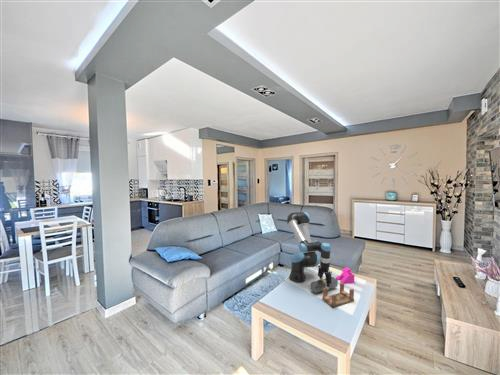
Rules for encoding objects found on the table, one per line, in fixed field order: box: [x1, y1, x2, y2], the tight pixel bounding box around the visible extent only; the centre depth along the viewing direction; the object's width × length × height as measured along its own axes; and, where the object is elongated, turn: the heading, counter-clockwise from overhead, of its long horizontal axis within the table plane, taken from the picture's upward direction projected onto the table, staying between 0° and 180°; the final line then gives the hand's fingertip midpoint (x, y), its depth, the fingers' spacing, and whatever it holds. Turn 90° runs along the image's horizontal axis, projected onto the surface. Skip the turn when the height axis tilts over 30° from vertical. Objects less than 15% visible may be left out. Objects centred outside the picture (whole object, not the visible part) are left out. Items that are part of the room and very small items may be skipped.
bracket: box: [335, 266, 355, 285], centre depth 195 cm, size 12×10×10 cm
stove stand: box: [321, 282, 355, 309], centre depth 165 cm, size 11×22×10 cm, turn 113°
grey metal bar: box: [310, 276, 339, 293], centre depth 180 cm, size 24×6×6 cm, turn 113°
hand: (324, 287), depth 180 cm, fingers closed on grey metal bar, 6 cm apart
